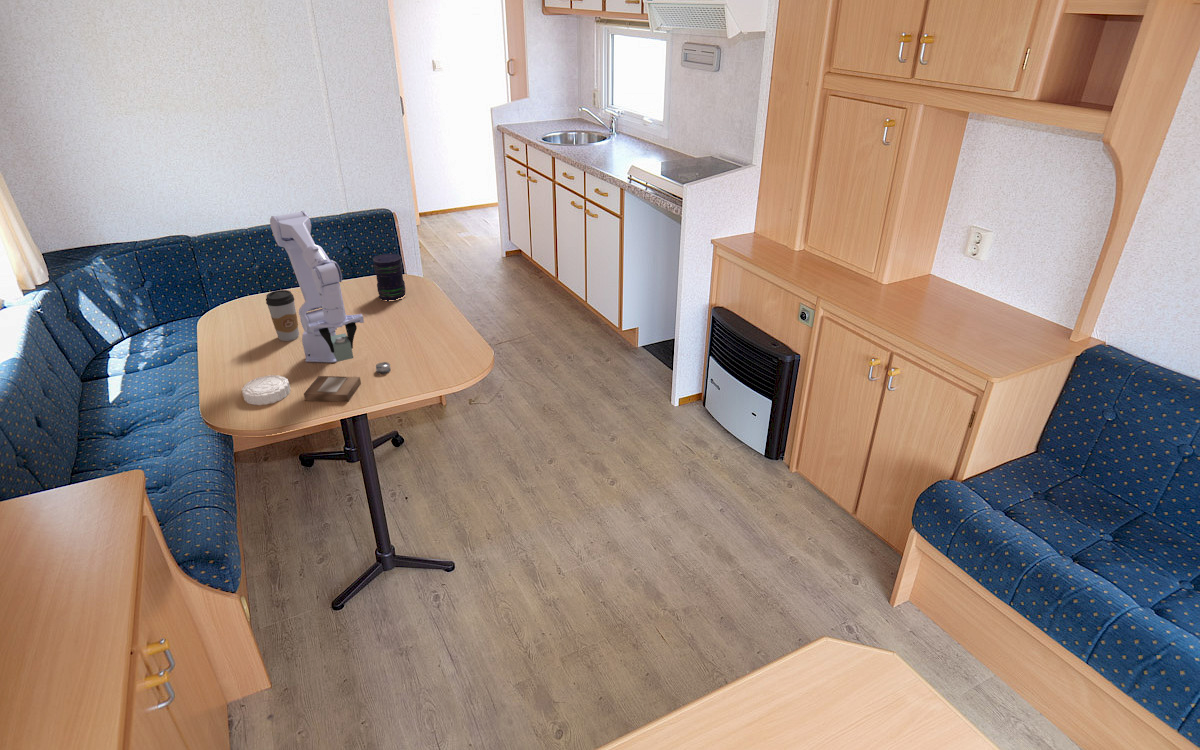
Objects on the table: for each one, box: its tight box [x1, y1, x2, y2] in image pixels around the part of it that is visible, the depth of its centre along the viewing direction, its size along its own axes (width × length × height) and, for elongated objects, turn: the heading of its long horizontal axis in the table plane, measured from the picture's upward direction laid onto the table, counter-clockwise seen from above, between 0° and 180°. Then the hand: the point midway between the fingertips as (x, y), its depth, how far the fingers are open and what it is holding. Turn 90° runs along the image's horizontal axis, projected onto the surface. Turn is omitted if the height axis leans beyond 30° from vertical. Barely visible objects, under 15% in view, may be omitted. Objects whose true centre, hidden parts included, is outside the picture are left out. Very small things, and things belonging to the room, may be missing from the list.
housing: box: [331, 333, 354, 363], centre depth 197 cm, size 7×4×6 cm, turn 30°
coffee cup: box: [265, 289, 300, 342], centre depth 220 cm, size 8×8×15 cm
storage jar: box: [372, 253, 406, 302], centre depth 250 cm, size 10×10×15 cm
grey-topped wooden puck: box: [375, 361, 392, 375], centre depth 203 cm, size 4×4×2 cm
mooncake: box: [241, 374, 292, 406], centre depth 191 cm, size 12×12×4 cm
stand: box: [303, 375, 362, 402], centre depth 192 cm, size 12×10×2 cm
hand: (341, 349), depth 197 cm, fingers closed on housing, 4 cm apart
